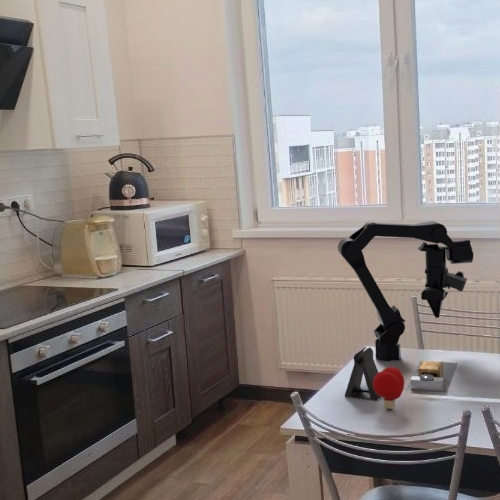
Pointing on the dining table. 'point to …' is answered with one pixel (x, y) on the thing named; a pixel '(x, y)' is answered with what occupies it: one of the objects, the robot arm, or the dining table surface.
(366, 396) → the dark grey a-frame stand
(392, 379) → the table tennis paddles
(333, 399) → the dining table surface
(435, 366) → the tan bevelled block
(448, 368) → the grey stepped plate
